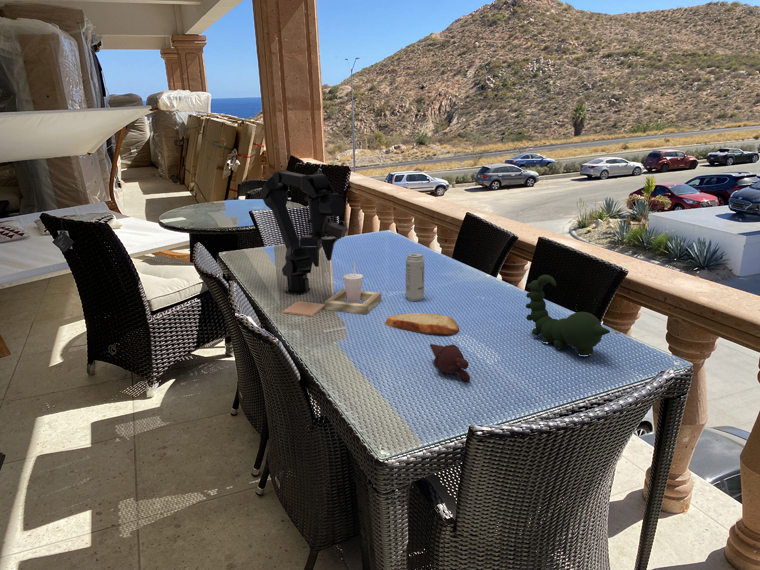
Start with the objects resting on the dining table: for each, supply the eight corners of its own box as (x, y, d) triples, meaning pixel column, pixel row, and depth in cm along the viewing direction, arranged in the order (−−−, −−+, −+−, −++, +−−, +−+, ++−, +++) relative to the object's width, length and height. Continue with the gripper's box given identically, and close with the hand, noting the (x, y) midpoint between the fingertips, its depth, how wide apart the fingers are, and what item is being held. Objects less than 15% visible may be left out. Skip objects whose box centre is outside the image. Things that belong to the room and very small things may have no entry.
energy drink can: (422, 302, 172) (423, 257, 168) (404, 301, 174) (404, 256, 169) (424, 296, 178) (425, 253, 174) (407, 295, 179) (407, 252, 175)
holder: (324, 309, 167) (324, 302, 166) (342, 295, 179) (342, 288, 178) (366, 314, 162) (365, 306, 161) (381, 300, 175) (381, 293, 174)
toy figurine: (518, 341, 145) (595, 369, 124) (518, 274, 141) (598, 291, 120) (542, 334, 150) (621, 360, 129) (543, 269, 146) (624, 284, 125)
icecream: (415, 339, 128) (452, 368, 116) (440, 326, 130) (479, 354, 118) (420, 362, 131) (456, 392, 119) (444, 349, 134) (482, 378, 122)
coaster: (282, 313, 164) (282, 311, 164) (298, 302, 173) (298, 301, 173) (311, 316, 161) (311, 314, 161) (325, 306, 170) (325, 304, 170)
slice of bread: (381, 322, 157) (381, 310, 156) (435, 313, 163) (435, 302, 162) (406, 345, 141) (406, 332, 140) (465, 334, 148) (465, 321, 146)
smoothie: (361, 308, 167) (360, 266, 163) (341, 307, 168) (340, 265, 164) (365, 302, 173) (364, 260, 169) (346, 301, 174) (345, 259, 170)
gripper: (329, 218, 155) (334, 270, 159) (353, 210, 172) (357, 257, 176) (295, 219, 159) (301, 270, 163) (322, 211, 176) (326, 257, 180)
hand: (323, 263), depth 170 cm, fingers open, 9 cm apart
